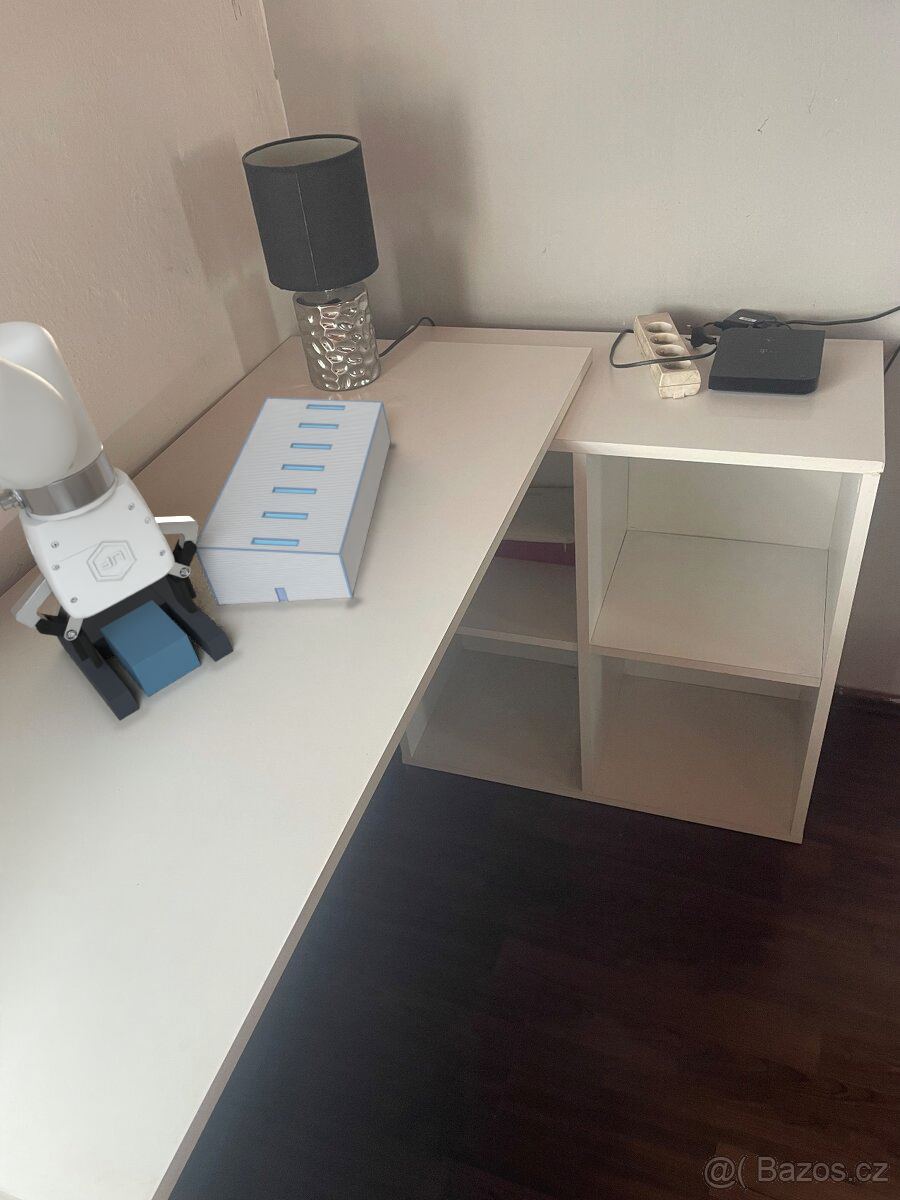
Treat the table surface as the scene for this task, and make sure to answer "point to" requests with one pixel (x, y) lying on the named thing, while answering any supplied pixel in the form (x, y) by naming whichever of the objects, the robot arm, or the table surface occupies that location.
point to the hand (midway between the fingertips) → (142, 632)
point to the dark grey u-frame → (104, 676)
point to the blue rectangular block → (150, 647)
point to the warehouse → (297, 503)
